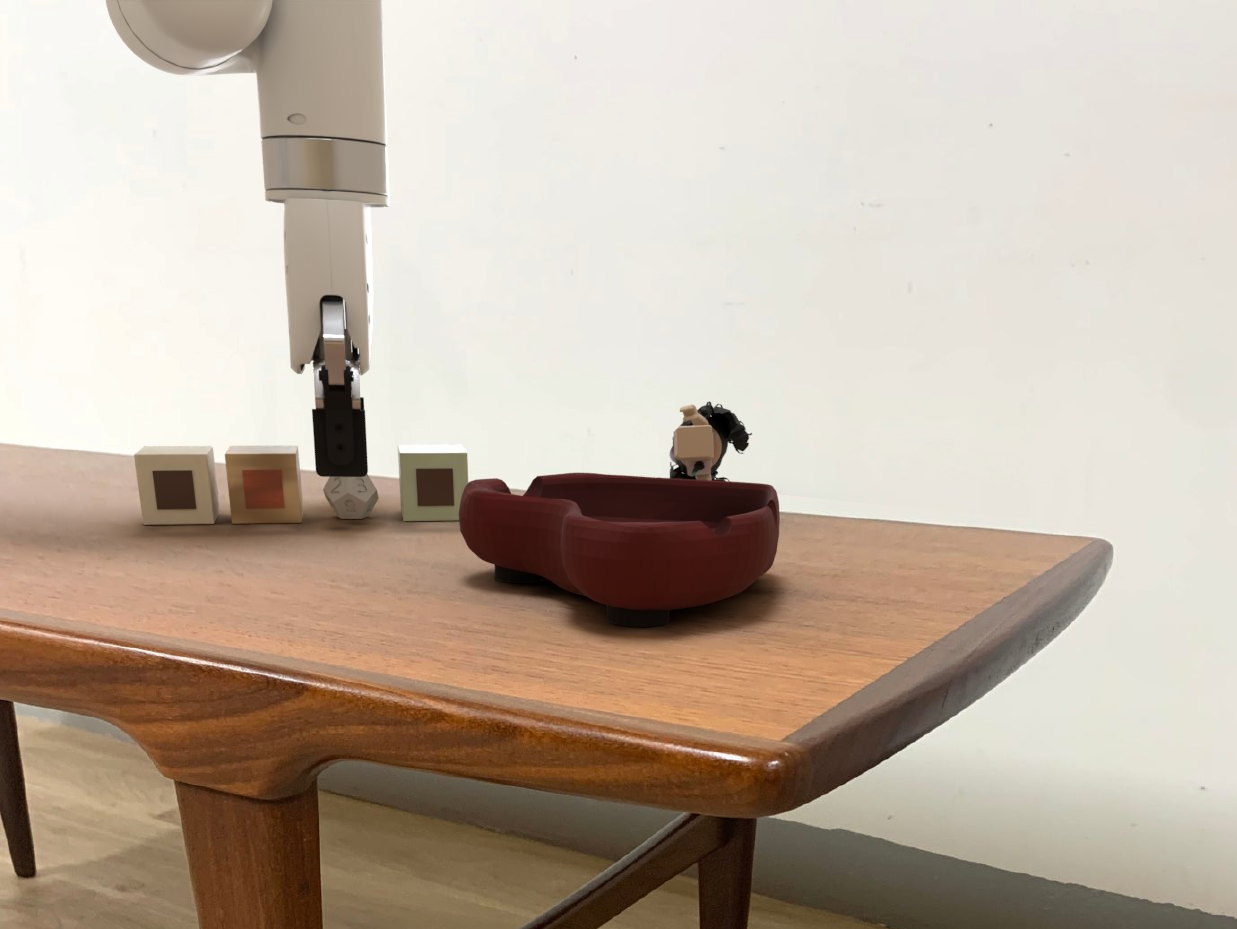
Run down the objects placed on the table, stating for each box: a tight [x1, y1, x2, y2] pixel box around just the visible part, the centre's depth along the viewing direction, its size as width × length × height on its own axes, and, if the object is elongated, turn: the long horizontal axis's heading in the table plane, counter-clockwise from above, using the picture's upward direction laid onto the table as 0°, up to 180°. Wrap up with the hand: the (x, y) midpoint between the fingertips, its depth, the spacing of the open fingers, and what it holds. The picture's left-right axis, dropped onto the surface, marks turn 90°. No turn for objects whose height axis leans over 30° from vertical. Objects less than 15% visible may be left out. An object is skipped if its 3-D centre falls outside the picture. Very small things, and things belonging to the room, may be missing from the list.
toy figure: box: [669, 401, 753, 481], centre depth 96 cm, size 7×6×15 cm
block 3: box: [397, 444, 469, 522], centre depth 90 cm, size 4×4×4 cm
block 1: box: [133, 445, 221, 526], centre depth 87 cm, size 4×4×4 cm
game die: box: [322, 473, 380, 520], centre depth 89 cm, size 4×4×3 cm
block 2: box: [224, 445, 304, 525], centre depth 88 cm, size 4×4×4 cm
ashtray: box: [459, 472, 781, 628], centre depth 70 cm, size 18×16×5 cm
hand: (342, 466), depth 89 cm, fingers open, 9 cm apart
